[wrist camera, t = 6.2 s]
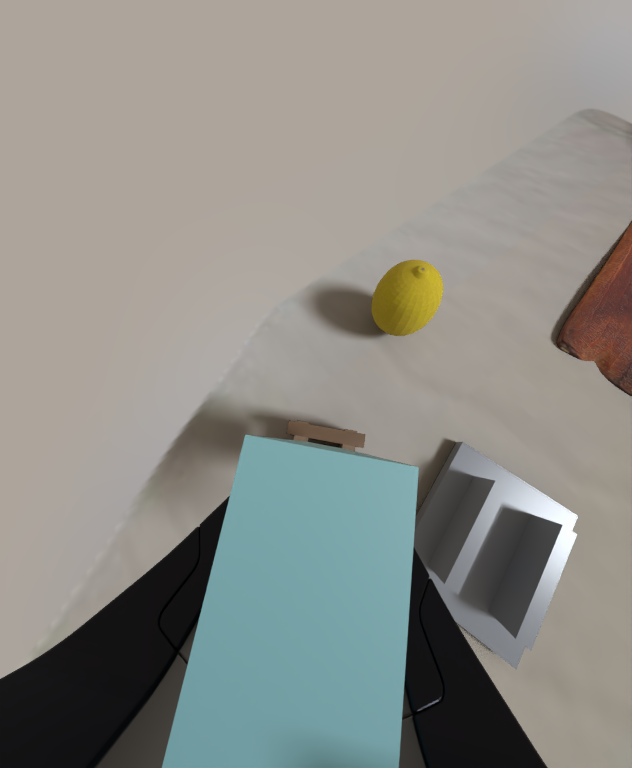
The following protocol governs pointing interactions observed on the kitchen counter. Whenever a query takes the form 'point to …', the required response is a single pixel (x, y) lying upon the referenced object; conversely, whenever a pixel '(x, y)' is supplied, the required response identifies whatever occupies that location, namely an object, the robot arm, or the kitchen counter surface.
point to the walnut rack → (326, 435)
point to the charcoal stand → (493, 550)
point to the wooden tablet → (605, 319)
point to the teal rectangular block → (303, 615)
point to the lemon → (407, 297)
